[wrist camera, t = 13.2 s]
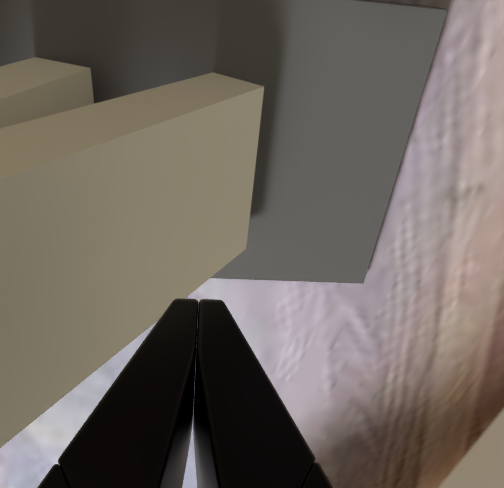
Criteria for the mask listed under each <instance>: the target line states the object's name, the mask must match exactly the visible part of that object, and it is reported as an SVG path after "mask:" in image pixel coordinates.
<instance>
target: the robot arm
mask: <svg viewBox="0 0 504 488" xmlns="http://www.w3.org/2000/svg"><path fill="white" fill-rule="evenodd" d="M197 322H198V327H197ZM196 344H197V348H196ZM195 365H196V370H195ZM194 385H195V391H194ZM193 406H194V413H193ZM192 421H193V431H194V448H195V462H196V475H197V488H333V487H332V485H331V483H330V482H329V480H328V478H327V476H326V475H325V473H324V471H323V470H322V468H321V466H320V464H319V463H317V462H316V463H315V456H314V455H313V453H312V451H311V450H310V448H309V446H308V444H307V443H306V441H305V439H304V438H303V436H302V434H301V433H300V431H299V429H298V427H297V426H296V424H295V422H294V421H293V419H292V417H291V416H290V414H289V412H288V410H287V409H286V407H285V405H284V404H283V402H282V400H281V398H280V397H279V395H278V393H277V392H276V390H275V388H274V387H273V385H272V383H271V381H270V380H269V378H268V376H267V375H266V373H265V371H264V370H263V368H262V366H261V364H260V363H259V361H258V359H257V358H256V356H255V354H254V352H253V351H252V349H251V347H250V346H249V344H248V342H247V341H246V339H245V337H244V335H243V334H242V332H241V330H240V329H239V327H238V325H237V324H236V322H235V320H234V318H233V317H232V315H231V313H230V312H229V310H228V308H227V306H226V305H225V303H224V302H223V301H222V300H212V299H202V300H200V301H199V307H198V301H197V300H196V299H181V298H177V299H174V300H173V301H172V303H171V304H170V305H169V307H168V308H167V309H166V311H165V312H164V314H163V315H162V316H161V318H160V319H159V321H158V322H157V323H156V325H155V326H154V327H153V329H152V330H151V332H150V333H149V334H148V336H147V337H146V339H145V340H144V341H143V343H142V344H141V345H140V347H139V348H138V350H137V351H136V352H135V354H134V355H133V356H132V358H131V359H130V361H129V362H128V363H127V365H126V366H125V368H124V369H123V370H122V372H121V373H120V374H119V376H118V377H117V379H116V380H115V381H114V383H113V384H112V386H111V387H110V388H109V390H108V391H107V392H106V394H105V395H104V397H103V398H102V399H101V401H100V402H99V404H98V405H97V406H96V408H95V409H94V410H93V412H92V413H91V415H90V416H89V417H88V419H87V420H86V422H85V423H84V424H83V426H82V427H81V428H80V430H79V431H78V433H77V434H76V435H75V437H74V438H73V440H72V441H71V442H70V444H69V445H68V446H67V448H66V449H65V451H64V452H63V453H62V455H61V456H60V458H59V459H58V464H59V465H58V464H55V465H54V466H53V467H52V468H51V470H50V471H49V472H48V474H47V475H46V477H45V478H44V479H43V481H42V482H41V483H40V485H39V486H38V488H182V485H183V479H184V473H185V467H186V462H187V456H188V450H189V444H190V438H191V431H192Z"/></svg>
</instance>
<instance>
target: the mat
mask: <svg viewBox="0 0 504 488" xmlns="http://www.w3.org/2000/svg"><path fill="white" fill-rule="evenodd" d="M446 14H447V10H445V9H442V8H436V7H426V6H417V5H407V4H398V3H388V2H379V1H370V0H0V66H4V65H7V64H11V63H15V62H19V61H22V60H26V59H30V58H34V57H37V58H42V59H47V60H52V61H58V62H63V63H68V64H73V65H78V66H83V67H88V68H90V69H91V79H92V89H93V98H94V104H95V103H99V102H103V101H106V100H110V99H114V98H118V97H121V96H125V95H129V94H133V93H137V92H140V91H144V90H148V89H152V88H155V87H159V86H163V85H167V84H171V83H174V82H178V81H182V80H186V79H190V78H193V77H197V76H201V75H205V74H208V73H212V72H214V73H217V74H221V75H225V76H228V77H232V78H235V79H239V80H243V81H246V82H250V83H254V84H257V85H261V86H264V94H263V103H262V112H261V121H260V130H259V138H258V147H257V156H256V165H255V174H254V183H253V192H252V201H251V210H250V219H249V228H248V237H247V246H246V249H245V250H244V251H243V252H242V253H240V254H239V255H238V256H237V257H235V258H234V259H233V260H232V261H230V262H229V263H228V264H227V265H225V266H224V267H223V268H222V269H221V270H219V271H218V272H217V273H216V274H214V275H213V276H212V277H211V278H224V279H253V280H281V281H309V282H337V283H364V280H365V277H366V273H367V270H368V267H369V264H370V260H371V257H372V254H373V251H374V247H375V244H376V241H377V238H378V234H379V231H380V228H381V225H382V221H383V218H384V215H385V212H386V208H387V205H388V202H389V199H390V195H391V192H392V189H393V186H394V183H395V179H396V176H397V173H398V170H399V166H400V163H401V160H402V157H403V153H404V150H405V147H406V144H407V140H408V137H409V134H410V131H411V127H412V124H413V121H414V118H415V114H416V111H417V108H418V105H419V101H420V98H421V95H422V92H423V88H424V85H425V82H426V79H427V75H428V72H429V69H430V66H431V62H432V59H433V56H434V53H435V49H436V46H437V43H438V40H439V36H440V33H441V30H442V27H443V23H444V20H445V17H446Z"/></svg>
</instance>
